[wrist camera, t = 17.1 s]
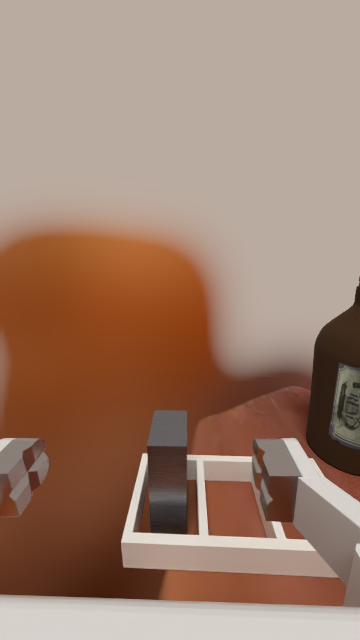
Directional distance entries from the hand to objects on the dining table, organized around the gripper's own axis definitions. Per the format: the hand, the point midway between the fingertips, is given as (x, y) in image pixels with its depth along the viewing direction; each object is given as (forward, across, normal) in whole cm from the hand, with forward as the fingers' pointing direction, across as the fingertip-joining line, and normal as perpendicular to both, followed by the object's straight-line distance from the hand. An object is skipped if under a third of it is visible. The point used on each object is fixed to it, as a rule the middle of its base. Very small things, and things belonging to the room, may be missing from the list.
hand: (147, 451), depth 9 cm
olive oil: (+22, -24, +20) cm, 38 cm away
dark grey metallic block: (+12, +1, +20) cm, 23 cm away
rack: (+12, -6, +20) cm, 24 cm away
